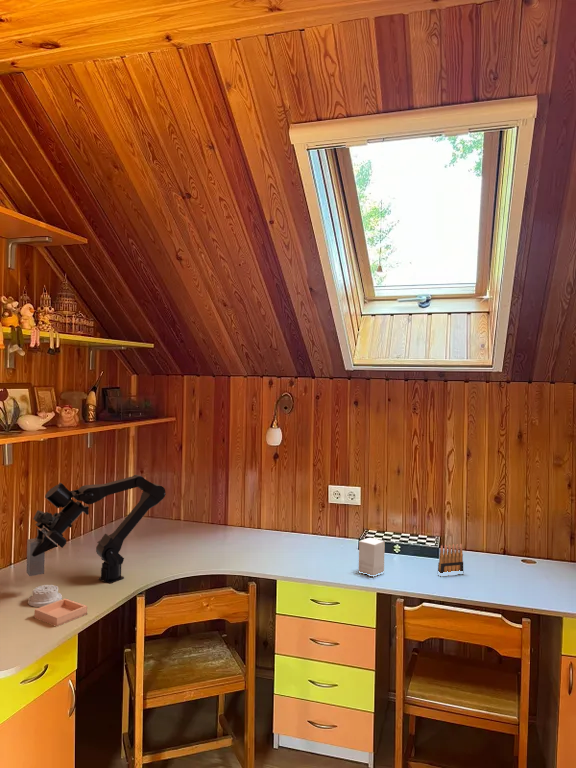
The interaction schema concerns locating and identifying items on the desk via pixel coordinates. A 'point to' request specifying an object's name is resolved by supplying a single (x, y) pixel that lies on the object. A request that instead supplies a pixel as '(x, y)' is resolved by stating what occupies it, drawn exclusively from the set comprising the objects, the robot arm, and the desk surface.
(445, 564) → the ammunition clip
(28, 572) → the graphite square block
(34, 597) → the mechanical component
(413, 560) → the desk surface
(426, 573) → the desk surface
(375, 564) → the supplement box
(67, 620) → the terracotta bin
